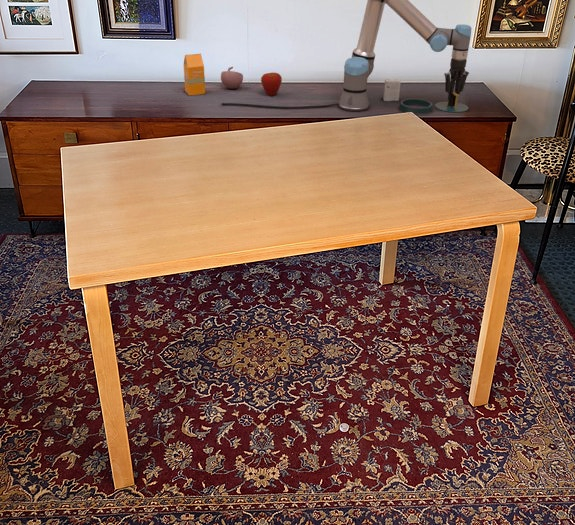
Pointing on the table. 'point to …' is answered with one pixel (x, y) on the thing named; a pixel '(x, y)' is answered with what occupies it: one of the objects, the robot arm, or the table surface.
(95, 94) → the table surface
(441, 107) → the tin lid
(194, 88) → the orange juice
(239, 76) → the decorative fruit
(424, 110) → the tin
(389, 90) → the small box
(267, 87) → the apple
